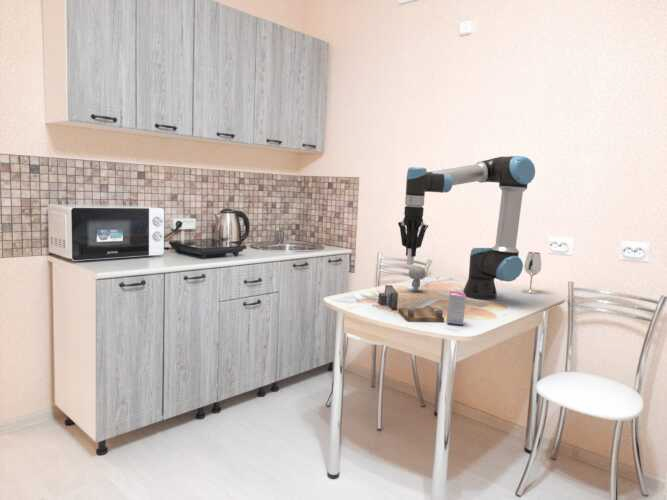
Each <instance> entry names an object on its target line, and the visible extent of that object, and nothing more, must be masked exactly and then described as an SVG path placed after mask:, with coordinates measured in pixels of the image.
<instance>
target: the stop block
mask: <svg viewBox="0 0 667 500" xmlns="http://www.w3.org/2000/svg"><path fill="white" fill-rule="evenodd" d="M377 303H378V305H380V306H387V305H388V303H387V295H386V294H385V292H384V293H382V292H379V293H378V302H377Z"/></svg>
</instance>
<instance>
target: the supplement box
mask: <svg viewBox="0 0 667 500" xmlns="http://www.w3.org/2000/svg"><path fill="white" fill-rule="evenodd" d="M466 300H467V296H466V294H465V293H463V292H461V291H460V292H459V291H450V292H449V297H448V308H447V316H446V324H447V325H452V326H461V327H462V326H464V319H465V318H464V317H465V311H466Z"/></svg>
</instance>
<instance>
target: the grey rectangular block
mask: <svg viewBox="0 0 667 500" xmlns="http://www.w3.org/2000/svg"><path fill="white" fill-rule="evenodd" d="M393 292H397V291H396V289H395V287H393V285H392V284H389V285H388V284H387V285H385V286H384V293H385V294H386V295H387V305H388V307H389V308H392V294H393Z"/></svg>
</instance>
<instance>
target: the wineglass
mask: <svg viewBox="0 0 667 500" xmlns="http://www.w3.org/2000/svg"><path fill="white" fill-rule="evenodd" d="M524 261H525V262H524V264H523V268H524V270H525V272H526V273H527V274H528V275H529V276H530V282H529V288H528V289H522V290H521V291H522V293H525V294H529V295H530V294H531V295H536V294H537V295H538V293H539V291H537V290H534V289H532V284H533V277H534V276H536V275H537V274H539V273H540V272H541V270H542V257H541V253H540V252H535V251H528V253H527V255H526V258H525V260H524Z"/></svg>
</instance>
